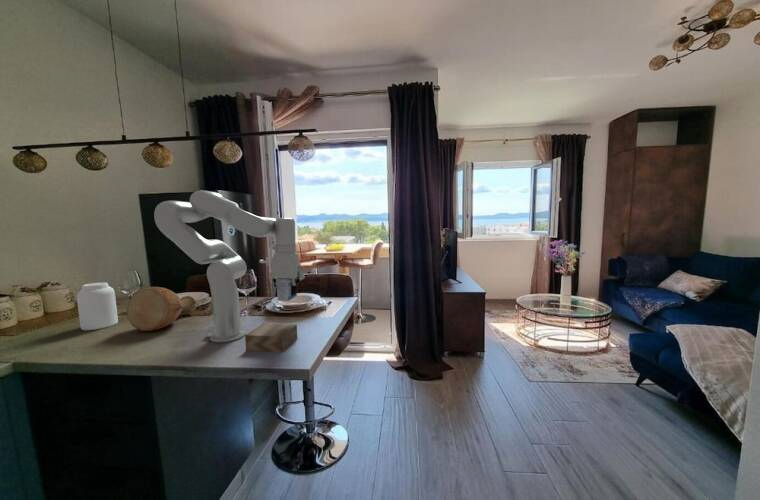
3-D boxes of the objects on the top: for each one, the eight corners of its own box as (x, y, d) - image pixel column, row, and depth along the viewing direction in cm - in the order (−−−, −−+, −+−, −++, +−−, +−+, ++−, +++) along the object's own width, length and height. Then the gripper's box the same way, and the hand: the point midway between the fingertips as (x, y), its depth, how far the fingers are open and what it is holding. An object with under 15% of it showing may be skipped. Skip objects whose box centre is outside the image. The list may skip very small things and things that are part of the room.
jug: (104, 309, 117) (159, 298, 147) (132, 345, 117) (181, 327, 147) (143, 278, 118) (190, 274, 148) (171, 314, 118) (212, 303, 148)
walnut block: (246, 351, 102) (245, 335, 102) (264, 337, 114) (263, 323, 114) (282, 353, 100) (281, 336, 100) (297, 339, 112) (296, 324, 112)
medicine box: (287, 301, 110) (287, 279, 109) (277, 300, 110) (276, 278, 110) (297, 296, 117) (296, 275, 117) (286, 295, 118) (286, 275, 117)
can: (100, 330, 126) (94, 286, 124) (72, 331, 126) (66, 286, 124) (125, 321, 139) (121, 280, 137) (100, 321, 139) (95, 281, 137)
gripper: (260, 250, 109) (262, 297, 111) (303, 250, 108) (304, 297, 109) (269, 248, 116) (270, 292, 118) (309, 248, 115) (311, 293, 117)
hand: (287, 294), depth 114 cm, fingers closed on medicine box, 4 cm apart
